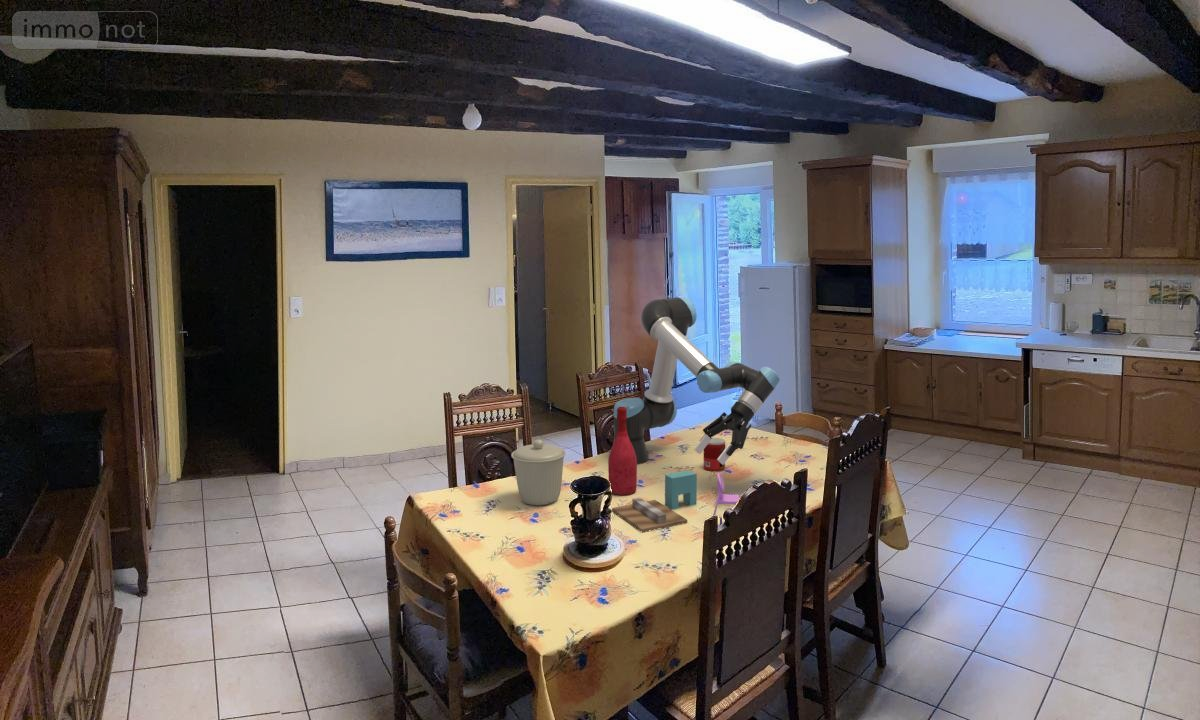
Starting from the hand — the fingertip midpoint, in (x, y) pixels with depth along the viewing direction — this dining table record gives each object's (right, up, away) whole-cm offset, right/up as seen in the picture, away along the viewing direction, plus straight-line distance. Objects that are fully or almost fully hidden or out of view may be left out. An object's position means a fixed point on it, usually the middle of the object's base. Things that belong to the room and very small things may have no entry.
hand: (708, 456), depth 260 cm
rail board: (-20, -17, -12) cm, 29 cm away
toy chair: (+4, -18, -16) cm, 24 cm away
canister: (-56, -15, +4) cm, 58 cm away
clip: (-9, -15, -2) cm, 18 cm away
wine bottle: (-28, -14, +12) cm, 33 cm away
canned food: (+7, -9, +35) cm, 36 cm away
